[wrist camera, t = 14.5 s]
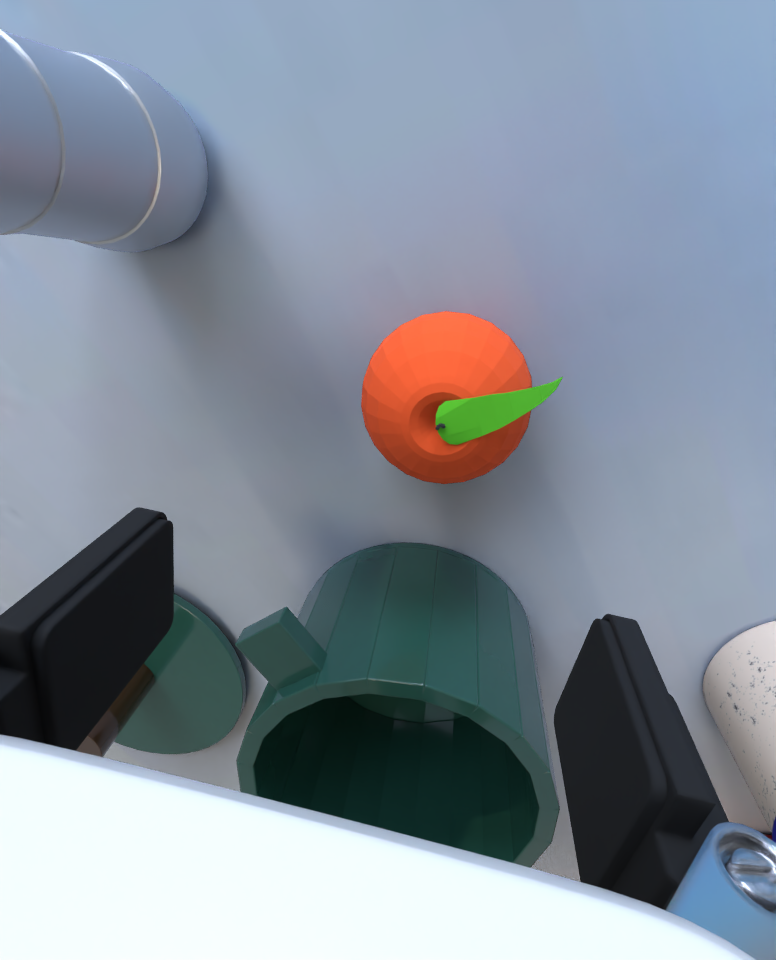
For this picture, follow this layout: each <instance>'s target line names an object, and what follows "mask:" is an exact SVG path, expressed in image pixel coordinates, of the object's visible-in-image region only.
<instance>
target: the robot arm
mask: <svg viewBox="0 0 776 960" xmlns="http://www.w3.org/2000/svg"><path fill="white" fill-rule="evenodd" d="M173 618H174V566H173V524H172V522H171V521H168V520H167V517H166V515H165V514H164V513H162V512H158V511H153V510H149V509H145V508H135V509H134V510H132V511H131V512H130V513H129V514H127V515H126V516H125V517H124V518H122V519H121V520H120V521H119V522H117V523H116V524H115V525H113V526H112V527H111V528H110V529H108V530H107V531H106V532H105V533H103V534H102V535H101V536H100V537H98V538H97V539H96V540H95V541H93V542H92V543H91V544H90V545H88V546H87V547H86V548H85V549H83V550H82V551H81V552H80V553H78V554H77V555H76V556H75V557H73V558H72V559H71V560H69V561H68V562H67V563H66V564H64V565H63V566H62V567H61V568H59V569H58V570H57V571H56V572H54V573H53V574H52V575H51V576H49V577H48V578H47V579H46V580H44V581H43V582H42V583H41V584H39V585H38V586H37V587H36V588H34V589H33V590H32V591H30V592H29V593H28V594H27V595H25V596H24V597H23V598H22V599H20V600H19V601H18V602H17V603H15V604H14V605H13V606H12V607H10V608H9V609H8V610H7V611H5V612H4V613H3V614H2V615H0V960H776V843H775V842H774V841H772V840H771V839H769V838H768V837H766V836H765V835H763V834H762V833H760V832H759V831H757V830H755V829H752V828H750V827H748V826H745V825H743V824H738V823H733V822H729V821H728V819H727V816H726V814H725V812H724V810H723V807H722V805H721V803H720V801H719V798H718V796H717V794H716V792H715V789H714V787H713V785H712V783H711V780H710V778H709V776H708V773H707V771H706V769H705V767H704V764H703V762H702V760H701V758H700V755H699V753H698V751H697V749H696V746H695V744H694V742H693V740H692V737H691V735H690V733H689V731H688V728H687V726H686V724H685V721H684V719H683V717H682V715H681V712H680V710H679V708H678V706H677V703H676V702H675V700H674V698H673V697H672V696H671V695H670V694H668V691H667V689H666V687H665V684H664V682H663V680H662V677H661V675H660V673H659V671H658V668H657V666H656V664H655V661H654V659H653V657H652V654H651V652H650V650H649V648H648V645H647V643H646V641H645V638H644V636H643V634H642V631H641V629H640V627H639V625H638V623H637V621H635V620H633V619H628V618H624V617H619V616H615V615H611V614H606V615H605V616H604V617H603V619H595V620H594V621H593V623H592V625H591V628H590V630H589V632H588V634H587V637H586V639H585V641H584V644H583V646H582V648H581V651H580V653H579V655H578V658H577V660H576V662H575V665H574V667H573V669H572V671H571V674H570V676H569V678H568V681H567V683H566V685H565V688H564V690H563V692H562V695H561V697H560V699H559V701H558V704H557V706H556V709H555V714H554V727H555V733H556V739H557V744H558V750H559V756H560V762H561V768H562V774H563V780H564V786H565V792H566V797H567V803H568V809H569V815H570V821H571V827H572V833H573V839H574V844H575V850H576V856H577V862H578V868H579V874H580V880H581V882H579V881H575V880H572V879H568V878H565V877H561V876H558V875H554V874H550V873H547V872H543V871H540V870H536V869H533V868H529V867H526V866H522V865H519V864H515V863H511V862H507V861H504V860H500V859H496V858H492V857H488V856H485V855H481V854H477V853H473V852H470V851H466V850H462V849H458V848H454V847H451V846H447V845H443V844H439V843H435V842H432V841H428V840H424V839H420V838H416V837H413V836H409V835H405V834H401V833H398V832H394V831H390V830H386V829H382V828H378V827H375V826H371V825H367V824H363V823H359V822H355V821H351V820H348V819H344V818H340V817H336V816H332V815H328V814H324V813H320V812H317V811H313V810H309V809H305V808H301V807H297V806H293V805H289V804H286V803H282V802H278V801H274V800H270V799H266V798H262V797H258V796H254V795H250V794H247V793H243V792H239V791H235V790H231V789H227V788H223V787H219V786H215V785H211V784H207V783H203V782H199V781H195V780H191V779H187V778H183V777H179V776H175V775H171V774H167V773H163V772H160V771H156V770H152V769H148V768H144V767H140V766H136V765H132V764H128V763H124V762H120V761H116V760H112V759H108V758H104V757H100V756H95V755H91V754H87V753H83V752H78V751H76V750H77V749H78V747H79V746H80V745H81V744H82V742H83V741H84V740H85V738H86V737H87V736H88V734H89V733H90V732H91V731H92V729H93V728H94V727H95V725H96V724H97V723H98V722H99V720H100V719H101V718H102V716H103V715H104V714H105V713H106V711H107V710H108V709H109V707H110V706H111V705H112V704H113V702H114V701H115V700H116V698H117V697H118V696H119V695H120V693H121V692H122V691H123V689H124V688H125V687H126V686H127V684H128V683H129V682H130V680H131V679H132V678H133V676H134V675H135V674H136V673H137V671H138V670H139V669H140V667H141V666H142V665H143V664H144V662H145V661H146V660H147V658H148V657H149V656H150V655H151V653H152V652H153V651H154V649H155V648H156V647H157V646H158V644H159V643H160V642H161V640H162V639H163V638H164V637H165V635H166V634H167V633H168V631H169V630H170V627H171V625H172V622H173Z"/></svg>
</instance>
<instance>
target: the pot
mask: <svg viewBox="0 0 776 960" xmlns="http://www.w3.org/2000/svg"><path fill="white" fill-rule="evenodd" d="M235 646H236V647H237V648H238V649H239V650H240V651H241V652H242V653H243V655H244V656H245V657H246V658H247V659H248V660H249V661H250V662H251V663H252V664H253V665H254V666H255V668H256V669H257V670H258V671H259V672H260V673H261V674H262V675H263V676H264V677H265V678H266V679H267V681H268V684H267V686H266V688H265V690H264V692H263V695H262V697H261V699H260V701H259V703H258V706H257V708H256V710H255V712H254V714H253V717H252V719H251V721H250V723H249V725H248V728H247V730H246V733H245V736H244V739H243V742H242V745H241V748H240V751H239V754H238V757H237V770H238V777H239V784H240V791H241V792H243V793H247V794H250V795H254V796H258V797H262V798H266V799H270V800H274V801H278V802H282V803H286V804H289V805H293V806H297V807H301V808H305V809H309V810H313V811H317V812H320V813H324V814H328V815H332V816H336V817H340V818H344V819H348V820H351V821H355V822H359V823H363V824H367V825H371V826H375V827H378V828H382V829H386V830H390V831H394V832H398V833H401V834H405V835H409V836H413V837H416V838H420V839H424V840H428V841H432V842H435V843H439V844H443V845H447V846H451V847H454V848H458V849H462V850H466V851H470V852H473V853H477V854H481V855H485V856H488V857H492V858H496V859H500V860H504V861H507V862H511V863H515V864H519V865H522V866H526V867H529V868H531V866H532V865H533V864H534V863H535V862H536V860H537V859H538V858H539V857H540V856H541V855H542V853H543V852H544V851H545V850H546V849H547V847H548V846H549V845H550V844H551V842H552V839H553V835H554V831H555V827H556V822H557V818H558V814H559V810H560V806H559V800H558V794H557V787H556V781H555V775H554V769H553V763H552V756H551V750H550V744H549V738H548V731H547V725H546V719H545V713H544V707H543V700H542V694H541V688H540V682H539V675H538V669H537V663H536V657H535V651H534V645H533V641H532V637H531V632H530V627H529V623H528V619H527V616H526V614H525V612H524V609H523V607H522V606H521V604H520V602H519V601H518V599H517V597H516V596H515V594H514V593H513V592H512V591H511V589H510V588H509V587H508V586H507V585H506V584H505V583H504V582H503V581H502V580H501V579H500V578H499V577H498V576H497V575H496V574H495V573H493V572H492V571H491V570H489V569H488V568H486V567H485V566H484V565H482V564H480V563H479V562H477V561H475V560H473V559H471V558H470V557H467V556H465V555H463V554H460V553H458V552H455V551H453V550H449V549H446V548H442V547H439V546H433V545H427V544H420V543H392V544H385V545H379V546H374V547H370V548H367V549H364V550H361V551H358V552H356V553H354V554H352V555H349V556H347V557H345V558H344V559H342V560H341V561H339V562H338V563H336V564H334V565H333V566H332V567H331V568H330V569H329V570H327V571H326V572H325V573H324V574H323V575H322V577H321V578H320V579H319V580H318V581H317V582H316V584H315V585H314V587H313V589H312V590H311V591H310V592H309V594H308V596H307V598H306V600H305V602H304V605H303V607H302V609H301V611H300V613H299V616H298V618H296V617H295V616H294V614H293V613H292V612H291V611H290V610H289V609H288V607H285V608H283V609H281V610H279V611H277V612H275V613H273V614H271V615H269V616H268V617H266V618H264V619H262V620H260V621H258V622H256V623H254V624H252V625H250V626H248V627H247V628H245V629H244V630H243V631H242V633H241V635H240V636H239V638H238V640H237V642H236V643H235Z"/></svg>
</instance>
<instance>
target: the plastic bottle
mask: <svg viewBox="0 0 776 960" xmlns="http://www.w3.org/2000/svg"><path fill="white" fill-rule="evenodd" d="M207 184H208V166H207V159H206V154H205V149H204V145H203V143H202V140H201V137H200V135H199V132H198V130H197V128H196V126H195V124H194V123H193V121H192V119H191V118H190V116H189V114H188V113H187V112H186V111H185V109H184V108H183V107H182V106H181V104H180V103H179V102H178V101H177V100H176V99H175V98H174V97H173V96H172V95H171V94H170V93H168V92H167V91H166V90H165V89H164V88H163V87H162V86H161V85H160V84H158V83H157V82H156V81H155V80H154V79H152V78H151V77H150V76H149V75H148V74H146V73H144V72H143V71H141V70H139V69H137V68H136V67H134V66H132V65H130V64H126V63H123V62H120V61H117V60H113V59H109V58H106V57H102V56H98V55H94V54H90V53H80V52H67V51H64V50H61V49H58V48H55V47H52V46H49V45H46V44H43V43H40V42H37V41H34V40H30V39H27V38H24V37H21V36H18V35H15V34H12V33H9V32H7V31H5V30H3V29H1V28H0V235H7V234H30V235H38V236H46V237H54V238H62V239H70V240H75V241H78V242H81V243H84V244H87V245H90V246H93V247H97V248H102V249H108V250H113V251H120V252H130V253H133V252H141V251H147V250H150V249H152V248H155V247H158V246H160V245H163V244H166V243H168V242H171V241H174V240H175V239H177V238H178V237H180V236H181V235H183V234H184V233H185V232H186V231H187V230H188V229H189V228H190V227H191V226H192V224H193V223H194V222H195V220H196V218H197V217H198V215H199V213H200V212H201V209H202V206H203V203H204V200H205V197H206V191H207Z"/></svg>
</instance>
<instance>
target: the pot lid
mask: <svg viewBox="0 0 776 960" xmlns="http://www.w3.org/2000/svg"><path fill="white" fill-rule="evenodd" d="M245 697H246V682H245V676H244V671H243V668H242V665H241V662H240V660H239V658H238V656H237V654H236V652H235V650H234V648H233V646H232V645H231V643H230V642H229V640H228V639H227V637H226V636H225V635H224V634H223V633H222V631H221V630H220V629H219V628H218V626H217V625H216V624H214V623H213V622H212V621H211V620H210V619H209V618H208V617H207V616H206V615H205V614H204V613H202V612H201V611H200V610H199V609H197V608H196V607H195V606H194V605H192V604H191V603H189V602H187V601H186V600H184V599H183V598H181V597H180V596H178V595H176V594H174V618H173V622H172V625H171V627H170V630H169V631H168V633H167V634H166V635H165V637H164V638H163V639H162V640H161V642H160V643H159V644H158V646H157V647H156V648H155V649H154V651H153V652H152V653H151V655H150V656H149V657H148V658H147V660H146V661H145V662H144V664H143V665H142V666H141V667H140V669H139V670H138V671H137V673H136V674H135V675H134V676H133V678H132V679H131V680H130V682H129V683H128V684H127V686H126V687H125V688H124V689H123V691H122V692H121V693H120V695H119V696H118V697H117V698H116V700H115V701H114V702H113V704H112V705H111V706H110V707H109V709H108V710H107V711H106V713H105V714H104V715H103V716H102V718H101V719H100V720H99V722H98V723H97V724H96V725H95V727H94V728H93V729H92V731H91V732H90V733H89V734H88V736H87V737H86V738H85V740H84V741H83V742H82V744H81V745H80V746H79V747H78V749H77V750H76V751H78V752H83V753H87V754H91V755H95V756H100V757H103V756H104V755H105V753H106V752H107V751H108V749H109V748H110V746H111V745H112V744H113V742H116V743H119V744H121V745H124V746H127V747H130V748H133V749H137V750H141V751H146V752H151V753H159V754H183V753H190V752H195V751H199V750H202V749H205V748H208V747H210V746H212V745H214V744H215V743H217V742H219V741H220V740H221V739H223V738H224V737H225V736H226V735H227V734H228V733H229V732H230V731H231V730H232V729H233V727H234V726H235V724H236V723H237V721H238V719H239V717H240V715H241V712H242V710H243V707H244V703H245Z"/></svg>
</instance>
